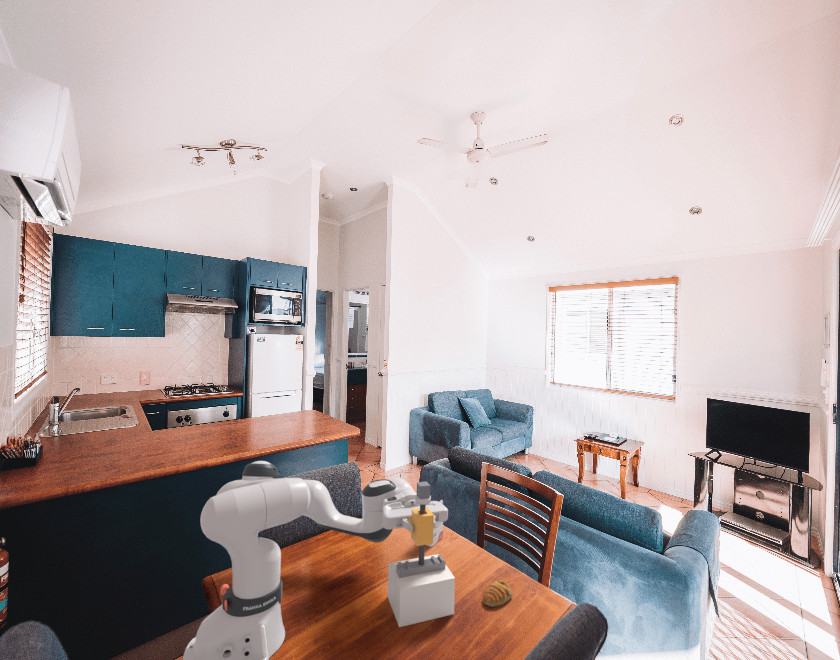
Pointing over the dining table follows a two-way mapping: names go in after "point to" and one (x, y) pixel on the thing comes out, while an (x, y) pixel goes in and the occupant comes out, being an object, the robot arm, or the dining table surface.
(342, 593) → the dining table surface
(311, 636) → the dining table surface
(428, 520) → the sleeve
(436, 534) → the ink cartridge box
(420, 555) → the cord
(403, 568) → the comb base
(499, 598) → the pastry
